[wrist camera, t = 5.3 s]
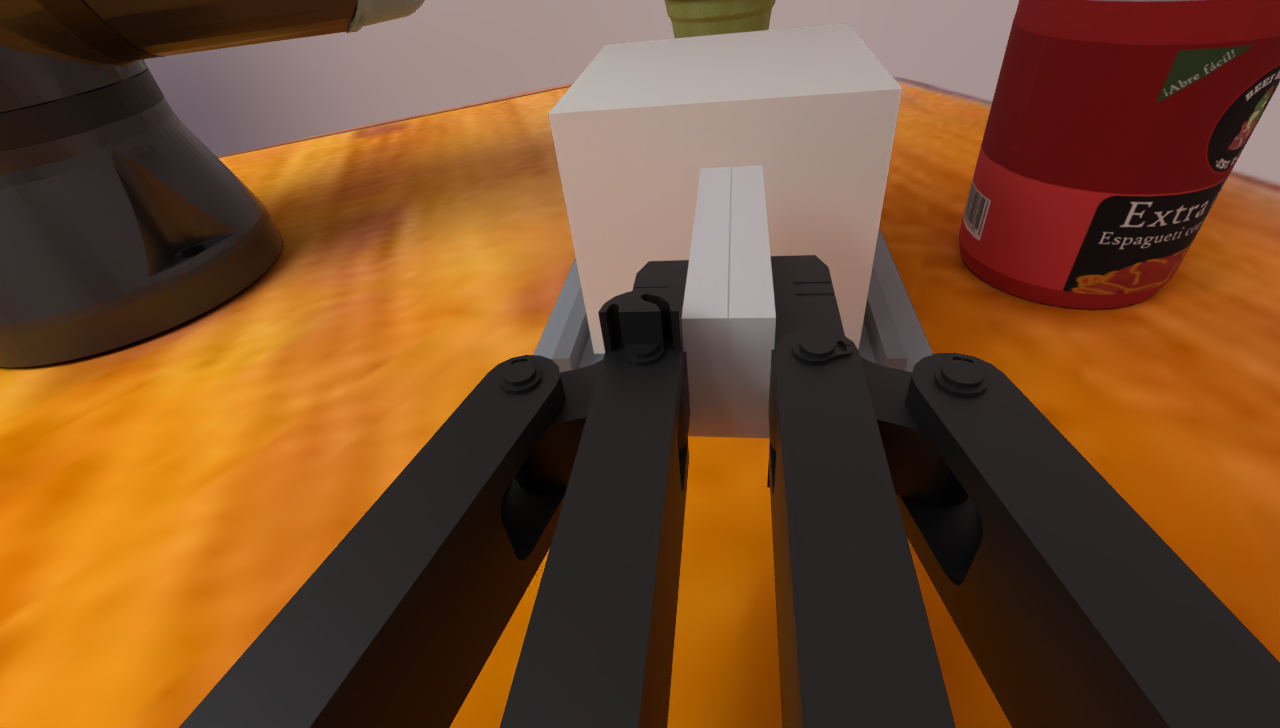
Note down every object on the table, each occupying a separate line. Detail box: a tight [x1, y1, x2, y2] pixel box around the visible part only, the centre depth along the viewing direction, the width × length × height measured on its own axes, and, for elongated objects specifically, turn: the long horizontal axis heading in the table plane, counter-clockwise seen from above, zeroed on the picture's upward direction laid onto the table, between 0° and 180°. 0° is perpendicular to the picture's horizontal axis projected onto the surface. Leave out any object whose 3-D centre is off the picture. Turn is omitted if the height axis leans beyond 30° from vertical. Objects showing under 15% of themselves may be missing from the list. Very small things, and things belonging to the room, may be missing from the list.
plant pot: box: [665, 0, 775, 38], centre depth 47 cm, size 9×9×9 cm
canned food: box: [959, 0, 1280, 309], centre depth 22 cm, size 8×8×11 cm
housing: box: [548, 23, 902, 354], centre depth 21 cm, size 9×9×8 cm
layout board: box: [534, 227, 933, 372], centre depth 28 cm, size 24×14×4 cm, turn 173°
